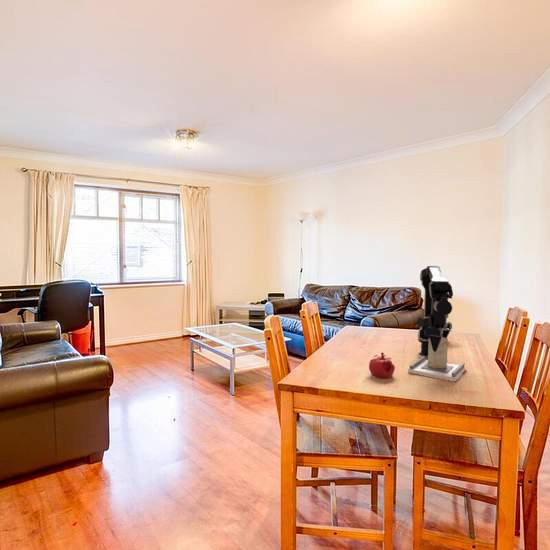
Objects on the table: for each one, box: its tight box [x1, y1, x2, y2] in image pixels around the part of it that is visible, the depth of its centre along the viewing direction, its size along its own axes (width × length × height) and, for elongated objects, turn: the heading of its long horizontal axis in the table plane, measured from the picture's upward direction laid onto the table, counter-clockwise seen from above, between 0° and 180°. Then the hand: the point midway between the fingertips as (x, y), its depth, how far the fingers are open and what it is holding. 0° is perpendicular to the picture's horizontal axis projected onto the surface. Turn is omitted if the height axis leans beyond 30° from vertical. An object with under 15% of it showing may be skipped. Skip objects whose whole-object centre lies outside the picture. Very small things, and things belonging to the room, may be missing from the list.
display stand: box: [407, 355, 467, 382], centre depth 161 cm, size 18×18×3 cm
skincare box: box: [427, 337, 449, 369], centre depth 161 cm, size 6×4×12 cm
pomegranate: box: [368, 351, 396, 379], centre depth 155 cm, size 10×10×9 cm
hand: (437, 349), depth 160 cm, fingers open, 9 cm apart
